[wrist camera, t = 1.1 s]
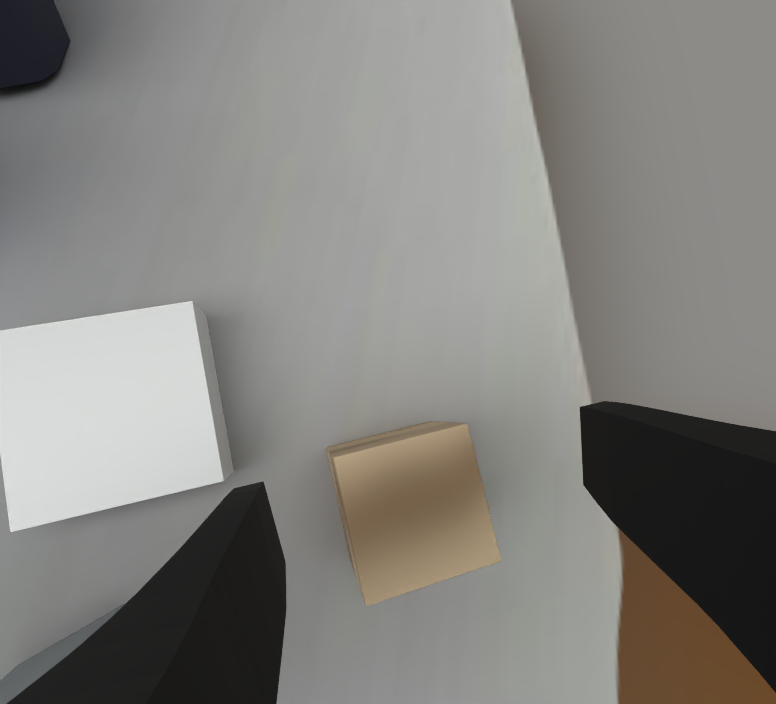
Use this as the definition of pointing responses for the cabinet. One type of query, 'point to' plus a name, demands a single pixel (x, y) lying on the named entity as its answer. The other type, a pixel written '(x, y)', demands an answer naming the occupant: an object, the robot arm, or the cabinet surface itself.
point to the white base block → (108, 412)
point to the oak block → (412, 508)
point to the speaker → (30, 41)
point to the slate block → (46, 660)
